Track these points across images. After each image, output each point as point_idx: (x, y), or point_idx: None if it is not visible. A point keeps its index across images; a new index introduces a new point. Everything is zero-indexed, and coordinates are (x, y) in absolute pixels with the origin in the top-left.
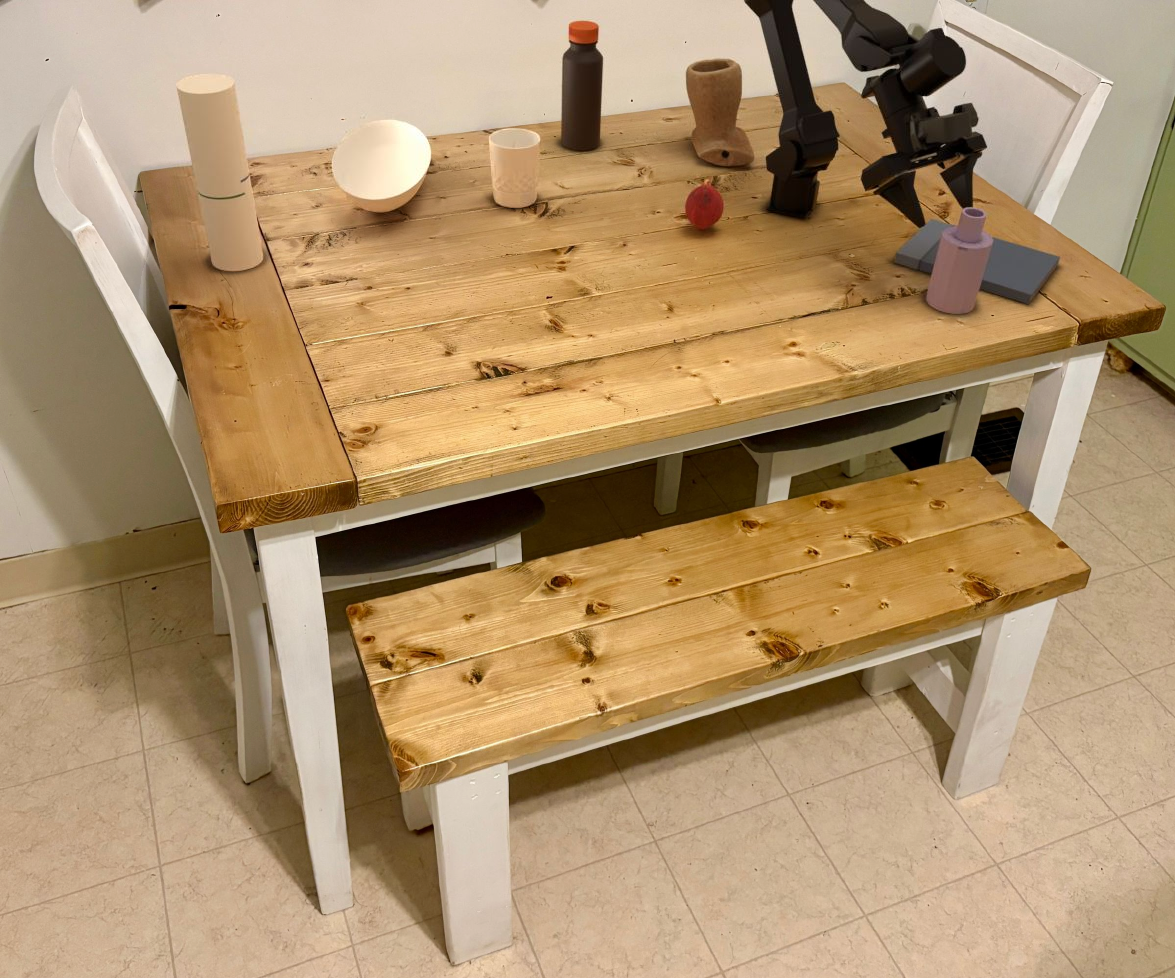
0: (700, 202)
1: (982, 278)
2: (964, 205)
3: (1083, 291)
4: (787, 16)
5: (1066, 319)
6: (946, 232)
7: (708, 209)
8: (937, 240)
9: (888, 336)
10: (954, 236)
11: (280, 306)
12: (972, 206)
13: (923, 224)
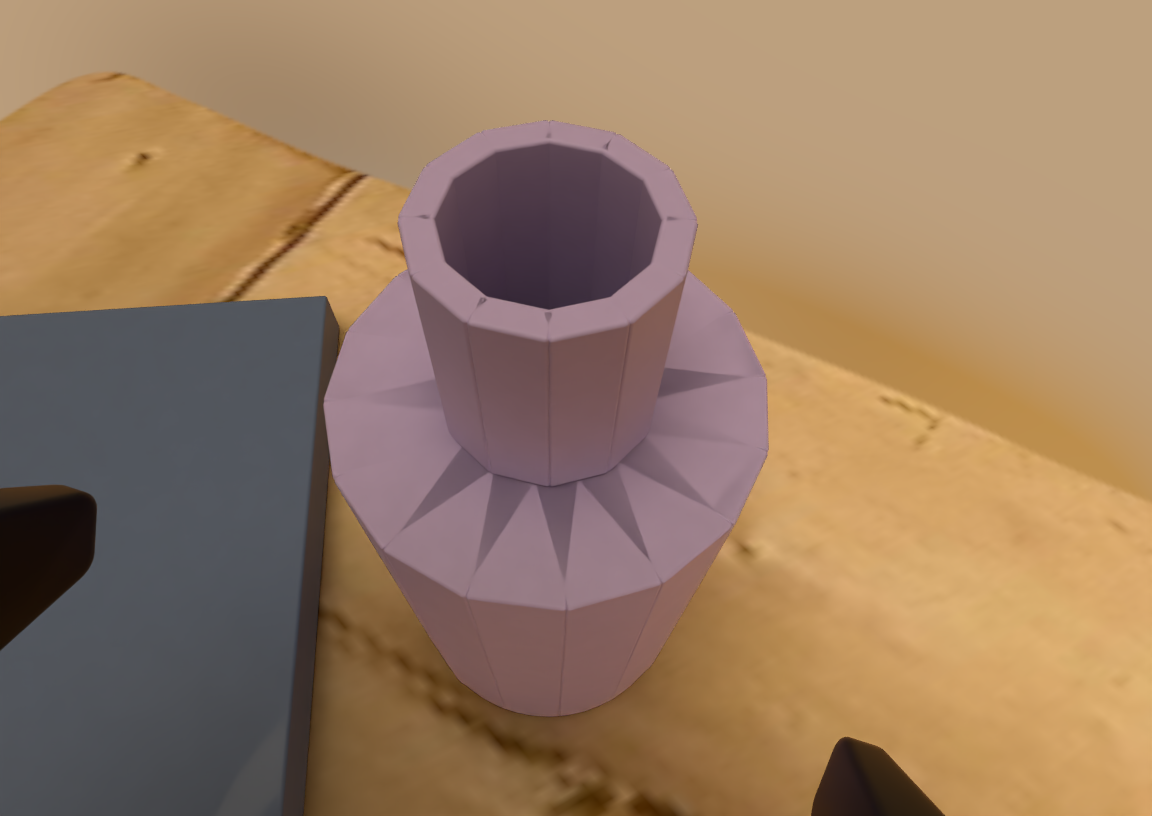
0: None
1: (296, 511)
2: (15, 590)
3: (95, 223)
4: None
5: (368, 204)
6: (614, 559)
7: None
8: None
9: (1092, 664)
10: (632, 470)
11: None
12: (35, 489)
13: (884, 751)
